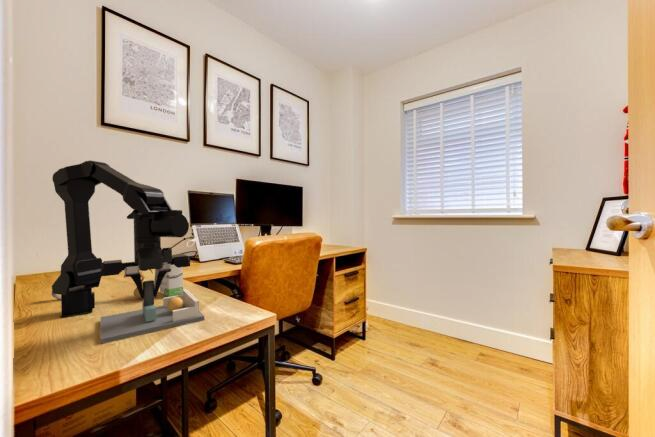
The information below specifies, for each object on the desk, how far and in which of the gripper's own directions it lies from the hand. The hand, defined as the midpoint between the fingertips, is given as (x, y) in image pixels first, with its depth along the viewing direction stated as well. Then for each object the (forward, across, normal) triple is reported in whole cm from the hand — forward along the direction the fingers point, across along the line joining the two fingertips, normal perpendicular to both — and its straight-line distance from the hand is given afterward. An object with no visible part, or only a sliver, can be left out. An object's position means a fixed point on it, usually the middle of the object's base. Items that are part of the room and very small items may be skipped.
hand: (148, 297), depth 72 cm
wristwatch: (+6, -19, +38) cm, 43 cm away
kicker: (+5, 0, 0) cm, 5 cm away
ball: (+3, +6, 0) cm, 7 cm away
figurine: (+6, 0, +25) cm, 26 cm away
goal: (+5, +7, 0) cm, 9 cm away
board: (+6, +1, 0) cm, 6 cm away
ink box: (+6, +9, +24) cm, 27 cm away
